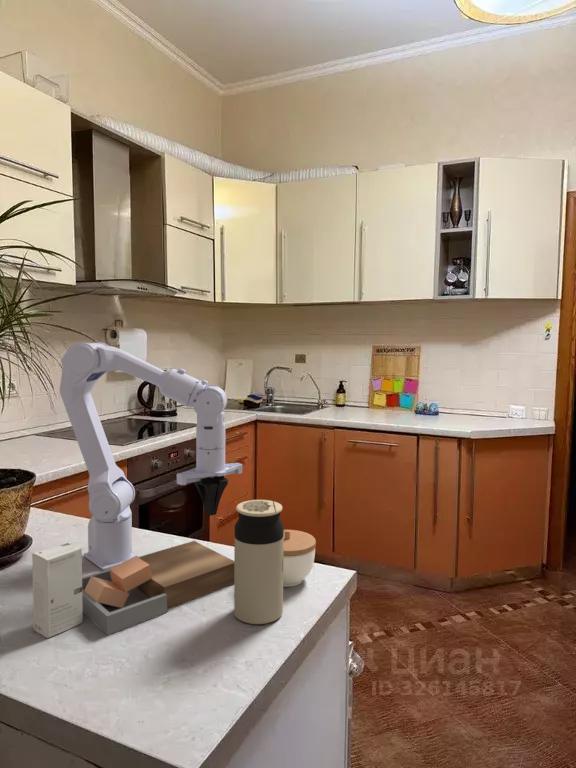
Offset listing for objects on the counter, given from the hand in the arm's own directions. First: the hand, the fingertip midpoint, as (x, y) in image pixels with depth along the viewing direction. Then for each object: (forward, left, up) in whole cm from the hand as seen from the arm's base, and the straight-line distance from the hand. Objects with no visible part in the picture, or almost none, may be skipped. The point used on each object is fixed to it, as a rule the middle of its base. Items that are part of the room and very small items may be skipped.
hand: (210, 513), depth 107 cm
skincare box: (+4, -32, -10) cm, 33 cm away
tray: (+4, -22, -10) cm, 24 cm away
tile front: (+4, -23, -6) cm, 24 cm away
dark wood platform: (+4, -10, -10) cm, 14 cm away
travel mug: (+22, -6, -10) cm, 25 cm away
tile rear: (+4, -19, -6) cm, 21 cm away
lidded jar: (+16, +6, -10) cm, 20 cm away
